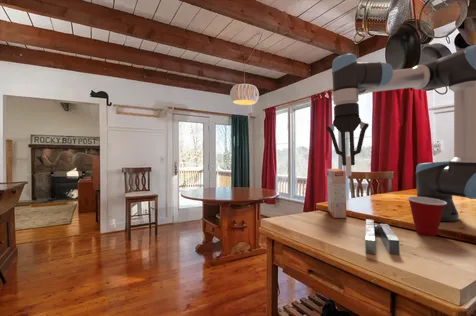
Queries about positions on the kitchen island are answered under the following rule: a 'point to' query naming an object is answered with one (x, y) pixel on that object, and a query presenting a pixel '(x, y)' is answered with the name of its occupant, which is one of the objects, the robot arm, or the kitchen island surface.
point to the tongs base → (388, 238)
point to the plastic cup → (426, 214)
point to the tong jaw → (370, 237)
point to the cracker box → (336, 192)
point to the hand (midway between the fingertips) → (348, 175)
